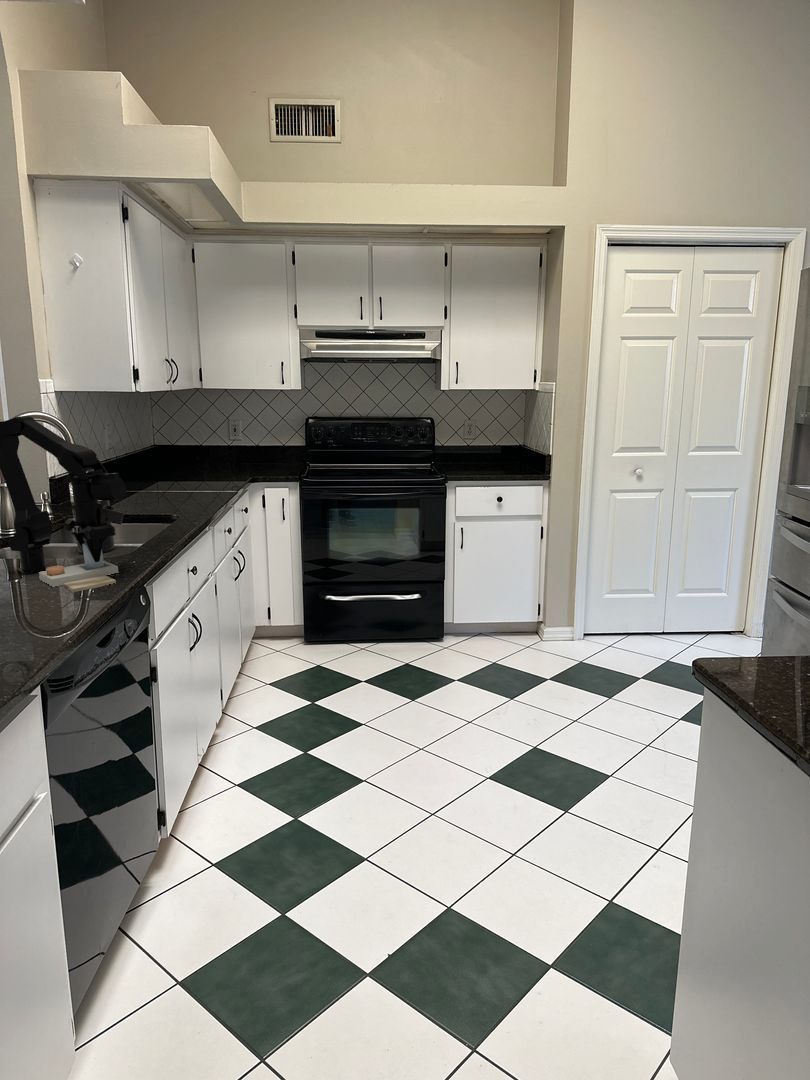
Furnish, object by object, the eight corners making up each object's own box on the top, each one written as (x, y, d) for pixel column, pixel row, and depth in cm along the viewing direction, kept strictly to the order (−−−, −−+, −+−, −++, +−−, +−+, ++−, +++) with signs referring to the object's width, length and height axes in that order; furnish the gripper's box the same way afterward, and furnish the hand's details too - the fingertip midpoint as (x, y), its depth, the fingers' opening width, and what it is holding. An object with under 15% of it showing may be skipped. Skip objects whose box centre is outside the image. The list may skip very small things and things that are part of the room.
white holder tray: (39, 579, 188) (38, 572, 188) (103, 567, 199) (102, 560, 198) (52, 587, 181) (51, 579, 181) (118, 573, 191) (117, 566, 191)
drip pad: (63, 586, 181) (63, 583, 181) (105, 578, 188) (104, 575, 188) (73, 592, 176) (73, 589, 176) (115, 583, 183) (115, 580, 182)
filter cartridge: (83, 573, 193) (79, 539, 191) (101, 570, 196) (96, 536, 194) (90, 576, 189) (85, 542, 187) (107, 573, 192) (103, 539, 190)
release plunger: (45, 579, 186) (43, 567, 186) (62, 576, 189) (60, 564, 188) (50, 582, 183) (49, 570, 183) (67, 579, 186) (66, 567, 185)
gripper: (132, 499, 187) (139, 560, 190) (104, 492, 200) (111, 549, 204) (86, 505, 179) (95, 568, 183) (60, 497, 193) (68, 556, 197)
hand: (93, 560), depth 192 cm, fingers closed on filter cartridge, 4 cm apart
